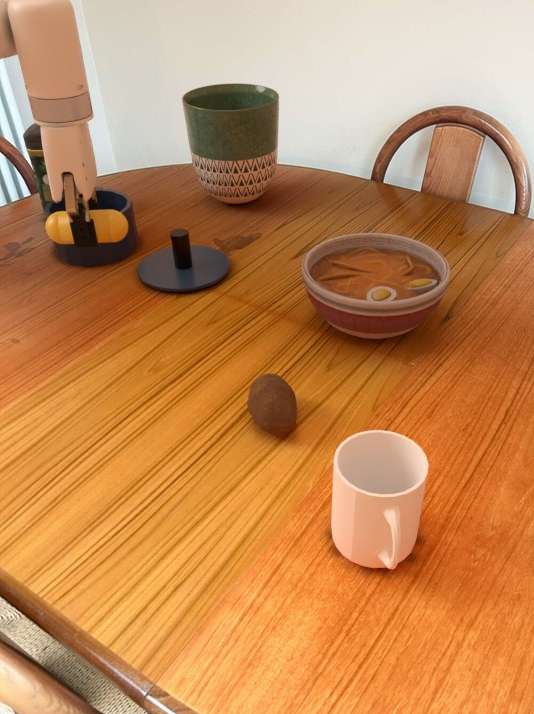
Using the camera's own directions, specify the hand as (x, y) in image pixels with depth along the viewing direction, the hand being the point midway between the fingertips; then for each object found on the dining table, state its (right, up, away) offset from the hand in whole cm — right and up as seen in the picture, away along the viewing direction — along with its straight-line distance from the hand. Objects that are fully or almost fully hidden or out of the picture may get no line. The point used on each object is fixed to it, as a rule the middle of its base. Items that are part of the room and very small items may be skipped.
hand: (89, 236), depth 96 cm
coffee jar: (-19, +16, +45) cm, 51 cm away
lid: (+10, 0, +24) cm, 26 cm away
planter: (+17, +21, +50) cm, 57 cm away
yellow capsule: (0, -1, +1) cm, 1 cm away
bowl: (+43, -11, +12) cm, 45 cm away
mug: (+40, -40, -23) cm, 61 cm away
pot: (-9, +6, +32) cm, 34 cm away
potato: (+27, -27, -7) cm, 39 cm away
